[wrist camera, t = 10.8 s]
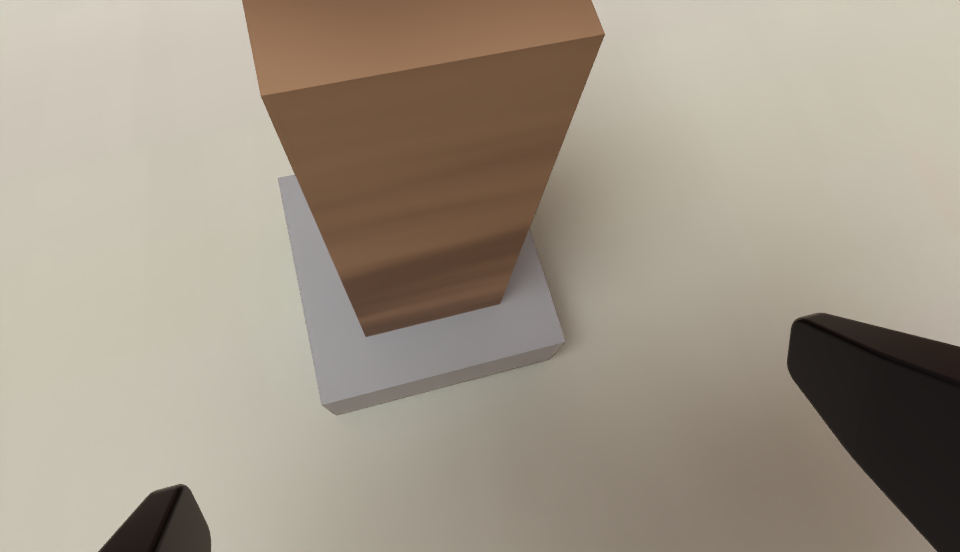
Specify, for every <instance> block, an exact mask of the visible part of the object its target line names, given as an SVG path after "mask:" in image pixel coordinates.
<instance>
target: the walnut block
mask: <svg viewBox="0 0 960 552" xmlns="http://www.w3.org/2000/svg"><path fill="white" fill-rule="evenodd" d="M242 2H243V7H244V12H245V17H246V22H247V28H248V33H249V38H250V43H251V48H252V53H253V58H254V64H255V69H256V74H257V79H258V84H259V89H260V94H261V98H262V100H263V102H264V104H265V107H266V109H267V111H268V114H269V116H270V118H271V121H272V123H273V125H274V127H275V130H276V132H277V134H278V137H279V139H280V141H281V144H282V146H283V148H284V150H285V153H286V155H287V157H288V160H289V162H290V164H291V167H292V169H293V171H294V173H295V176H296V178H297V180H298V183H299V185H300V187H301V190H302V192H303V194H304V196H305V199H306V201H307V203H308V206H309V208H310V210H311V213H312V215H313V217H314V219H315V222H316V224H317V226H318V229H319V231H320V233H321V236H322V238H323V240H324V242H325V245H326V247H327V249H328V252H329V254H330V256H331V259H332V261H333V263H334V265H335V268H336V270H337V272H338V275H339V277H340V279H341V282H342V284H343V286H344V288H345V291H346V293H347V295H348V298H349V300H350V302H351V304H352V307H353V309H354V311H355V314H356V316H357V318H358V321H359V323H360V325H361V327H362V330H363V332H364V334H365V337H369V336H373V335H377V334H381V333H385V332H389V331H393V330H397V329H401V328H405V327H409V326H413V325H417V324H422V323H426V322H430V321H434V320H438V319H442V318H446V317H450V316H454V315H458V314H462V313H466V312H470V311H474V310H478V309H482V308H486V307H491V306H495V305H499V304H500V303H501V300H502V297H503V295H504V292H505V290H506V287H507V285H508V282H509V279H510V277H511V274H512V272H513V269H514V267H515V264H516V261H517V259H518V256H519V254H520V251H521V249H522V246H523V243H524V241H525V238H526V236H527V233H528V231H529V228H530V225H531V223H532V220H533V218H534V215H535V213H536V210H537V207H538V205H539V202H540V200H541V197H542V195H543V192H544V189H545V187H546V184H547V182H548V179H549V177H550V174H551V171H552V169H553V166H554V164H555V161H556V159H557V156H558V153H559V151H560V148H561V146H562V143H563V141H564V138H565V135H566V133H567V130H568V128H569V125H570V123H571V120H572V117H573V115H574V112H575V110H576V107H577V105H578V102H579V99H580V97H581V94H582V92H583V89H584V87H585V84H586V81H587V79H588V76H589V74H590V71H591V69H592V66H593V63H594V61H595V58H596V56H597V53H598V51H599V48H600V45H601V43H602V40H603V38H604V35H605V33H604V31H603V28H602V26H601V23H600V21H599V18H598V16H597V13H596V11H595V8H594V6H593V3H592V1H591V0H242Z"/></svg>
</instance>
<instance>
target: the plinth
mask: <svg viewBox="0 0 960 552" xmlns="http://www.w3.org/2000/svg"><path fill="white" fill-rule="evenodd" d="M278 181H279V187H280V192H281V197H282V202H283V207H284V212H285V218H286V223H287V228H288V233H289V238H290V243H291V249H292V254H293V259H294V264H295V269H296V274H297V280H298V285H299V290H300V295H301V300H302V305H303V310H304V316H305V321H306V326H307V331H308V336H309V341H310V347H311V352H312V357H313V362H314V367H315V372H316V378H317V383H318V388H319V393H320V398H321V403H322V406H324V407H325V408H326V409H328V410H329V411H331V412H332V413H333V414H335V415H339V414H343V413H347V412H351V411H354V410H358V409H362V408H366V407H370V406H373V405H377V404H381V403H385V402H389V401H392V400H396V399H400V398H404V397H408V396H411V395H415V394H419V393H423V392H427V391H430V390H434V389H438V388H442V387H446V386H449V385H453V384H457V383H461V382H465V381H468V380H472V379H476V378H480V377H484V376H487V375H491V374H495V373H499V372H503V371H506V370H510V369H514V368H518V367H522V366H525V365H529V364H533V363H537V362H541V361H544V360H548V359H550V358H551V357H552V356H553V355H554V354H555V353H556V352H557V350H558V349H559V348H560V347H561V346H562V345H563V344H564V343H565V342H566V341H565V338H564V335H563V331H562V328H561V325H560V322H559V319H558V316H557V313H556V310H555V307H554V303H553V300H552V297H551V294H550V291H549V288H548V285H547V282H546V278H545V275H544V272H543V269H542V266H541V263H540V260H539V257H538V253H537V250H536V247H535V244H534V241H533V238H532V235H531V232H530V228H529V231H528V233H527V236H526V238H525V241H524V243H523V246H522V249H521V251H520V254H519V256H518V259H517V261H516V264H515V267H514V269H513V272H512V274H511V277H510V279H509V282H508V285H507V287H506V290H505V292H504V295H503V297H502V300H501V303H500V304H499V305H495V306H491V307H486V308H482V309H478V310H474V311H470V312H466V313H462V314H458V315H454V316H450V317H446V318H442V319H438V320H434V321H430V322H426V323H422V324H417V325H413V326H409V327H405V328H401V329H397V330H393V331H389V332H385V333H381V334H377V335H373V336H369V337H365V334H364V332H363V330H362V327H361V325H360V323H359V321H358V318H357V316H356V314H355V311H354V309H353V307H352V304H351V302H350V300H349V298H348V295H347V293H346V291H345V288H344V286H343V284H342V282H341V279H340V277H339V275H338V272H337V270H336V268H335V265H334V263H333V261H332V259H331V256H330V254H329V252H328V249H327V247H326V245H325V242H324V240H323V238H322V236H321V233H320V231H319V229H318V226H317V224H316V222H315V219H314V217H313V215H312V213H311V210H310V208H309V206H308V203H307V201H306V199H305V196H304V194H303V192H302V190H301V187H300V185H299V183H298V180H297V178H296V176H295V175H291V176H286V177H281V178H278Z"/></svg>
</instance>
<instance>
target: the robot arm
mask: <svg viewBox="0 0 960 552" xmlns="http://www.w3.org/2000/svg"><path fill="white" fill-rule="evenodd" d="M787 366H788V370H789V373H790V375H791V377H792V379H793V380H794V381H795V383H796V384H797V385H798V387H799V388H800V389H801V391H802V392H803V393H804V395H805V396H806V397H807V399H808V400H809V401H810V403H811V404H812V405H813V407H814V408H815V409H816V411H817V412H818V413H819V415H820V416H821V417H822V419H823V420H824V421H825V423H826V424H827V425H828V427H829V428H830V429H831V431H832V432H833V433H834V435H835V436H836V437H837V439H838V440H839V441H840V443H841V444H842V445H843V447H844V448H845V449H846V450H847V452H848V453H849V454H850V455H851V457H852V458H853V459H854V460H855V461H856V462H857V464H858V465H859V466H860V467H861V468H862V469H863V471H864V472H865V473H866V474H867V475H868V476H869V477H870V478H871V479H872V480H873V482H874V483H875V484H876V485H877V486H878V487H879V488H880V489H881V490H882V491H883V493H884V494H885V495H886V496H887V497H888V498H889V499H890V500H891V501H892V502H893V504H894V505H895V506H896V507H897V508H898V509H899V510H900V511H901V512H902V513H903V515H904V516H905V517H906V518H907V519H908V520H909V521H910V522H911V523H912V524H913V525H914V527H915V528H916V529H917V530H918V531H919V532H920V533H921V534H922V535H923V536H924V538H925V539H926V540H927V541H928V542H929V543H930V544H931V545H932V546H933V547H934V549H935V550H936V551H937V552H960V347H959V346H955V345H951V344H947V343H943V342H939V341H935V340H931V339H927V338H923V337H919V336H915V335H911V334H907V333H903V332H898V331H894V330H890V329H886V328H882V327H878V326H874V325H870V324H866V323H862V322H858V321H854V320H850V319H846V318H842V317H838V316H834V315H830V314H826V313H815V314H811V315H807V316H804V317H800V318H798V319H796V320H795V321H794V322H793V324H792V327H791V333H790V341H789V349H788V357H787ZM98 552H211V536H210V531H209V528H208V525H207V523H206V521H205V519H204V516H203V514H202V512H201V510H200V508H199V506H198V504H197V502H196V500H195V498H194V496H193V494H192V492H191V490H190V489H189V488H188V487H187V486H186V485H183V484H178V485H174V486H171V487H167V488H163V489H159V490H156V491H154V492H152V493H150V494H149V495H148V496H147V497H146V498H145V500H144V501H143V502H142V503H141V504H140V505H139V506H138V507H137V509H136V510H135V511H134V512H133V513H132V514H131V515H130V516H129V518H128V519H127V520H126V521H125V522H124V523H123V524H122V525H121V527H120V528H119V529H118V530H117V531H116V532H115V533H114V535H113V536H112V537H111V538H110V539H109V540H108V541H107V542H106V544H105V545H104V546H103V547H102V548H101V549H100V550H99V551H98Z"/></svg>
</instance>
